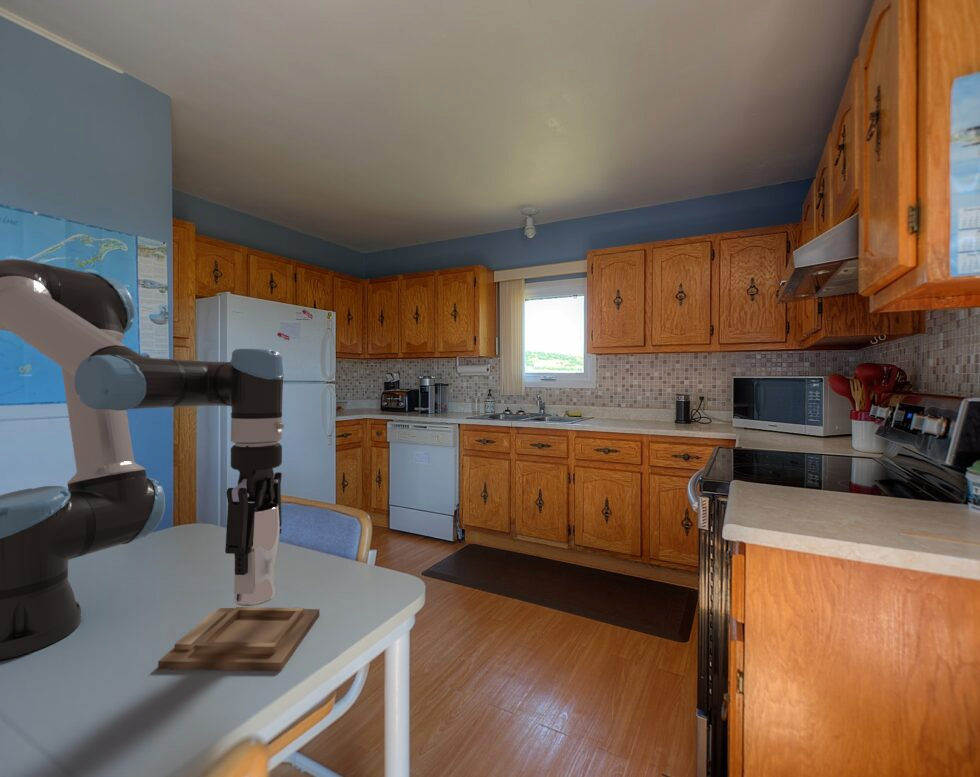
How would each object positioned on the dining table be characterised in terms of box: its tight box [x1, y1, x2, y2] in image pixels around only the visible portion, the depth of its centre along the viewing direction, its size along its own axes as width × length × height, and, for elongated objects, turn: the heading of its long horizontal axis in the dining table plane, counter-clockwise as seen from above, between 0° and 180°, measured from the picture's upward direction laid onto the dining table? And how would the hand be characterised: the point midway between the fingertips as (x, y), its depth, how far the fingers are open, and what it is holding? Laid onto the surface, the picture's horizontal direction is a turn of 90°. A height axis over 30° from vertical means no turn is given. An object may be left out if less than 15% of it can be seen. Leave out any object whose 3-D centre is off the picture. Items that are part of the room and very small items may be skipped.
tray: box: [157, 606, 320, 672], centre depth 76 cm, size 18×16×2 cm
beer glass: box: [233, 502, 281, 607], centre depth 75 cm, size 7×7×15 cm
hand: (255, 582), depth 75 cm, fingers closed on beer glass, 6 cm apart
